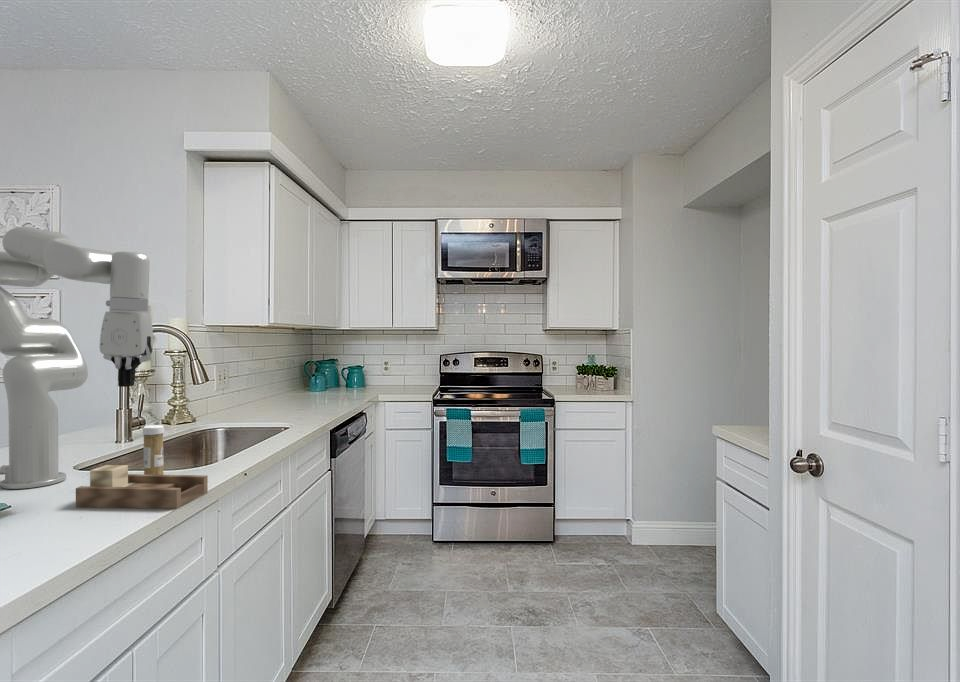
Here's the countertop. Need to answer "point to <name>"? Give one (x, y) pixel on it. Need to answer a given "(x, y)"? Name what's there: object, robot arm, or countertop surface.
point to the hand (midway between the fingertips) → (126, 385)
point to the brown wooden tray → (145, 492)
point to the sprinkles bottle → (153, 449)
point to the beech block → (109, 476)
